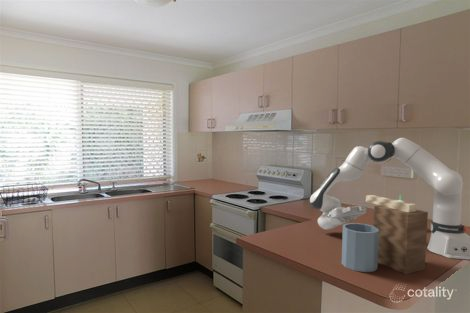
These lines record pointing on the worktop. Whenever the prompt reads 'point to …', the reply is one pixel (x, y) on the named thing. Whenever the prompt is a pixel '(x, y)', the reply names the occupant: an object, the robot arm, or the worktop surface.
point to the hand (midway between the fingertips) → (358, 207)
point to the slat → (391, 203)
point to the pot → (360, 247)
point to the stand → (401, 238)
